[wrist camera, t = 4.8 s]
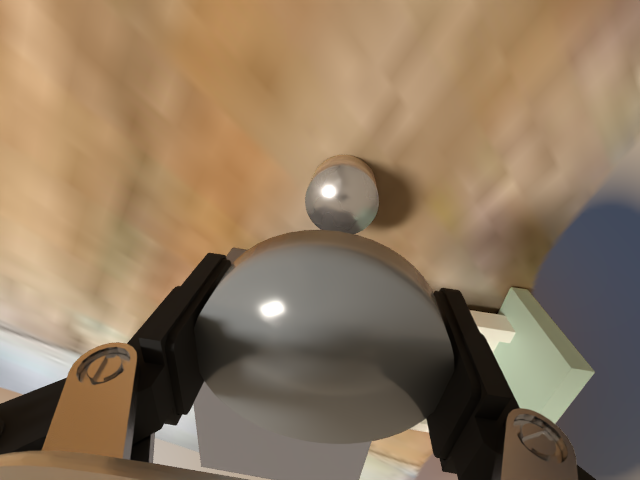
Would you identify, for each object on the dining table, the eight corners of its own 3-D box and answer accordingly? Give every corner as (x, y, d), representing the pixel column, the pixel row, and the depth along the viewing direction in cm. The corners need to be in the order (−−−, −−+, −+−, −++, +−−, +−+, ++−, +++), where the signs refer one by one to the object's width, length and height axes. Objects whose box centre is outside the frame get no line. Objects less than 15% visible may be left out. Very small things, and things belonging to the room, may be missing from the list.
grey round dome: (207, 212, 8) (177, 242, 7) (475, 250, 8) (499, 290, 7) (221, 380, 12) (202, 423, 10) (407, 411, 11) (414, 459, 10)
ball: (315, 150, 23) (308, 161, 20) (382, 159, 23) (386, 171, 20) (308, 212, 25) (302, 230, 22) (369, 220, 25) (371, 240, 22)
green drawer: (527, 289, 26) (595, 372, 19) (456, 424, 35) (483, 516, 28) (365, 264, 27) (368, 335, 19) (335, 403, 36) (330, 489, 28)
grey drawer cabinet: (388, 271, 27) (401, 350, 19) (354, 401, 36) (354, 494, 28) (232, 247, 28) (182, 315, 20) (235, 381, 36) (201, 466, 28)
